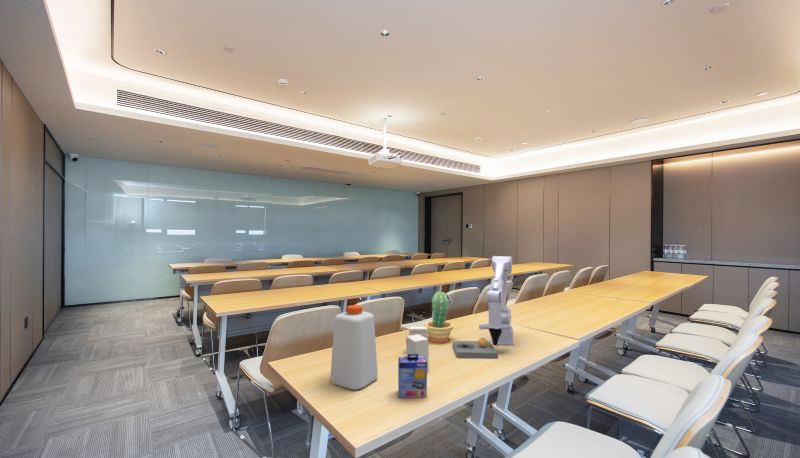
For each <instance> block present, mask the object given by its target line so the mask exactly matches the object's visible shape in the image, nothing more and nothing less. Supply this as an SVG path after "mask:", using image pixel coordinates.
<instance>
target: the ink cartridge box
mask: <svg viewBox="0 0 800 458" xmlns="http://www.w3.org/2000/svg"><path fill="white" fill-rule="evenodd" d="M413 355H414V357H409V356H413ZM415 356H416V357H415ZM397 363H398V364H397V367H398V369H397V371H398V372H397V378H398V380H397V381H398V385H397V386H398V398H400V399H401V398H402V399H403V398H427V397H428V393H427V392H428V372H427V360H426V358H425V356H418V354H408V357H406V356H399V357H398V362H397Z"/></svg>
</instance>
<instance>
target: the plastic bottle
mask: <svg viewBox="0 0 800 458" xmlns="http://www.w3.org/2000/svg"><path fill="white" fill-rule="evenodd" d="M375 327H376V326H375V316H374V314H373V313H372V312H369V311H364V310H363V306H362V305H360V304H351V305H347V306H346V310H345V311H344V312H341V313H338V314H336V315H335V317H334V321H333V334H332V348H331V349H332V350H331V362H330V363H331V364H330V377H329V378H330V382H331V383H332V385H335V386H337V387H342V388H345V389H347V390H353V391H358V390H361V389H364V388H365V387H367V386H368V385H370V384H371V383H372V382H373V383H374V381H376V380H377V379H378V375H379V373H378V372H379V371H378V358H377V344H376V343H377V342H376V329H375Z"/></svg>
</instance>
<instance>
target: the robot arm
mask: <svg viewBox="0 0 800 458" xmlns="http://www.w3.org/2000/svg"><path fill="white" fill-rule="evenodd" d="M491 266H492V270H493V272H494V277H493V278H492V279H491V281H490V282H491V283H490V287H489V290H487V294H486V300H487V306H488V323H482V324H478V329H479V330H481V331H482V330H488V332H489V334H490V337H491V338H490V340H491V341H492V346H498V345H499V346H502V345H503V346H505V345H506V346H507V345H508V346H509V345H510V346H511V345H514V328H513V326H512V324H511V323H512V311H511V309H510V308H509V307H508V306H506V305H507V303H506V301H507V288H508V276H509V275H510V274H511V273H512V270H513V257H512V256H511V255H509V256H508V255H507V256H504V255H503V256H502V255H499V256H498V255H492V258H491Z"/></svg>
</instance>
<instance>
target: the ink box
mask: <svg viewBox="0 0 800 458" xmlns="http://www.w3.org/2000/svg"><path fill="white" fill-rule="evenodd" d="M408 331H409V332H408V336H410V335H417V334H419V335H421V336H423V337H425V338H427V339H428V340H429V337H428V336H429V334H428V329H427V327H425V326H412V325H411V326H409V328H408Z"/></svg>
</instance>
